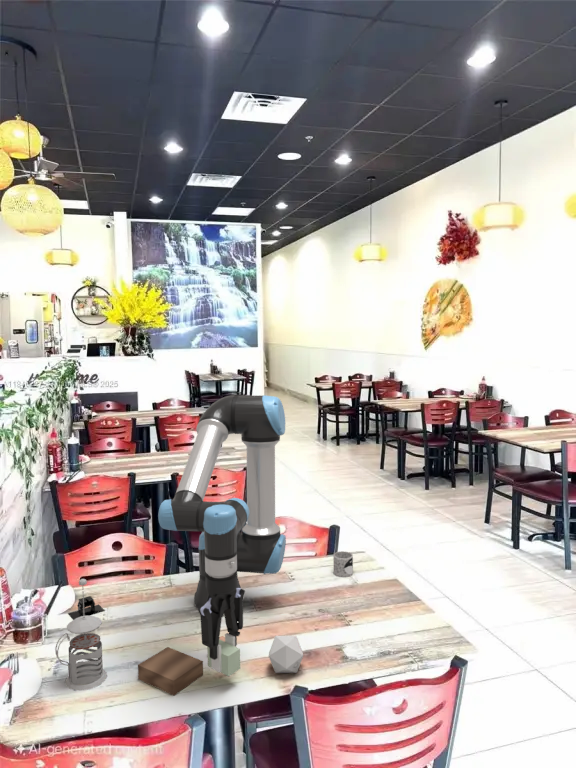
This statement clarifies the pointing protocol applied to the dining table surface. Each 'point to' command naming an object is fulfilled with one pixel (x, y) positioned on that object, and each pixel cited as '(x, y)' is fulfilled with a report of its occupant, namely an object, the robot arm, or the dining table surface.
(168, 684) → the walnut slab
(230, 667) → the sage brick
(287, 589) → the dining table surface
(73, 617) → the black angular piece
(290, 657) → the die
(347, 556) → the mug
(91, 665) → the french press
